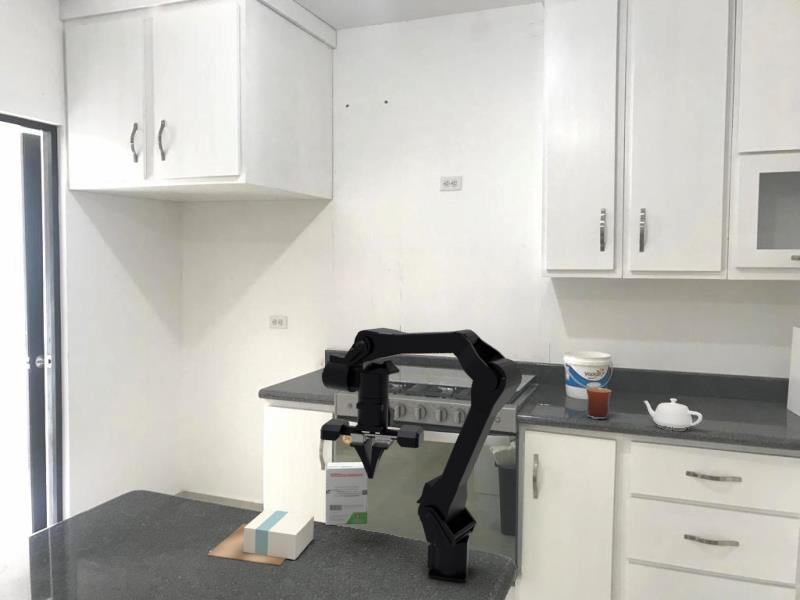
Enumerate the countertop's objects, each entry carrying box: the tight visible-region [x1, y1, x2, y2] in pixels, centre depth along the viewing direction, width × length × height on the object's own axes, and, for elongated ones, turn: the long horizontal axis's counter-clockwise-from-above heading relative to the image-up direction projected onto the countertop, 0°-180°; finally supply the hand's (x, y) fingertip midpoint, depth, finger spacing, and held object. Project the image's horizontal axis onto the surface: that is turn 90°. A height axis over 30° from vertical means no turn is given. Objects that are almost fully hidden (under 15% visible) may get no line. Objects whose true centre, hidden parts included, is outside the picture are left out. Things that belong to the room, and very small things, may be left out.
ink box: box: [325, 461, 369, 526], centre depth 130 cm, size 9×5×12 cm, turn 96°
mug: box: [585, 387, 613, 417], centre depth 228 cm, size 12×9×10 cm
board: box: [206, 523, 287, 567], centre depth 118 cm, size 14×14×1 cm
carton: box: [243, 508, 315, 561], centre depth 117 cm, size 5×9×10 cm
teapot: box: [643, 397, 703, 428], centre depth 215 cm, size 20×12×10 cm, turn 44°
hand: (371, 478), depth 118 cm, fingers closed
